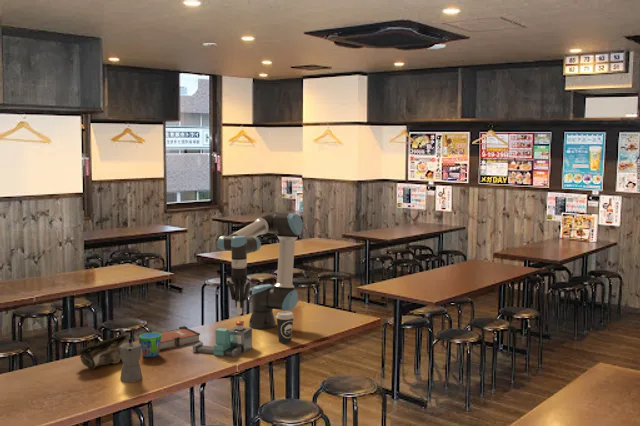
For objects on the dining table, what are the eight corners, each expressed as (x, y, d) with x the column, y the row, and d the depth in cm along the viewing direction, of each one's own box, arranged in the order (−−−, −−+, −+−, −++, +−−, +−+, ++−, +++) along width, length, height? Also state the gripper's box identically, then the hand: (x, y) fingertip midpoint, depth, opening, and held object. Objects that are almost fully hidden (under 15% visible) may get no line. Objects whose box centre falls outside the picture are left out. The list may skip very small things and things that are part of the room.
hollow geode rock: (81, 382, 292) (93, 363, 285) (68, 359, 297) (80, 340, 289) (133, 364, 314) (145, 346, 307) (120, 342, 319) (132, 325, 311)
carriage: (221, 350, 323) (221, 326, 322) (230, 351, 322) (230, 327, 320) (213, 354, 316) (213, 331, 315) (223, 356, 314) (222, 332, 313)
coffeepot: (141, 383, 278) (140, 342, 276) (118, 385, 276) (117, 343, 274) (143, 371, 293) (142, 332, 291) (121, 373, 291) (120, 333, 289)
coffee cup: (295, 339, 343) (295, 311, 342) (292, 344, 334) (292, 315, 332) (277, 338, 344) (277, 310, 343) (274, 343, 335) (274, 315, 333)
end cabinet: (236, 345, 331) (235, 326, 330) (252, 347, 328) (251, 328, 327) (227, 351, 323) (227, 331, 322) (243, 352, 320) (243, 333, 319)
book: (154, 352, 321) (154, 342, 321) (139, 344, 335) (138, 334, 334) (201, 342, 338) (200, 333, 338) (184, 335, 352) (184, 326, 351)
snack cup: (138, 352, 321) (137, 331, 320) (160, 349, 324) (159, 329, 323) (140, 361, 306) (140, 340, 305) (163, 359, 310) (163, 338, 309)
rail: (200, 348, 327) (199, 342, 327) (241, 353, 319) (241, 346, 319) (192, 352, 320) (192, 346, 320) (234, 357, 313) (234, 351, 312)
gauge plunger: (238, 332, 327) (238, 320, 327) (245, 333, 326) (245, 321, 325) (234, 335, 324) (234, 322, 323) (241, 335, 322) (241, 323, 322)
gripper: (223, 267, 320) (224, 314, 322) (247, 269, 316) (248, 316, 318) (230, 265, 327) (231, 311, 329) (254, 266, 323) (254, 313, 325)
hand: (239, 313), depth 324 cm, fingers closed
